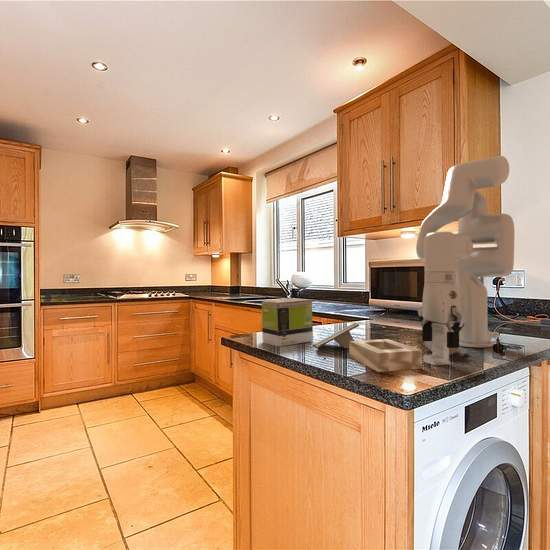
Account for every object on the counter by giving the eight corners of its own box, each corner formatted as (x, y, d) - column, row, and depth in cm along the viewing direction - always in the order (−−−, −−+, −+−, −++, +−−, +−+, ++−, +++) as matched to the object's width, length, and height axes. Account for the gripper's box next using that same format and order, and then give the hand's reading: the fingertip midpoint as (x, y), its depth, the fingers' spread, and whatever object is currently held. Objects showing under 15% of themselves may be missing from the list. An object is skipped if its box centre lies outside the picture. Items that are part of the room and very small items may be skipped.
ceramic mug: (434, 357, 102) (434, 329, 102) (422, 350, 110) (423, 325, 110) (472, 357, 101) (472, 330, 101) (458, 351, 110) (458, 326, 110)
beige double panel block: (336, 369, 105) (374, 334, 105) (315, 346, 106) (353, 312, 107) (331, 364, 121) (364, 334, 122) (313, 344, 122) (346, 314, 123)
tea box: (295, 337, 134) (295, 297, 133) (313, 342, 125) (313, 299, 125) (261, 342, 125) (261, 299, 125) (277, 347, 117) (277, 301, 117)
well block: (387, 354, 105) (387, 339, 105) (422, 368, 90) (422, 350, 90) (349, 357, 102) (349, 341, 102) (378, 371, 87) (378, 353, 87)
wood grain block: (437, 360, 98) (437, 323, 98) (448, 364, 94) (448, 325, 94) (423, 361, 97) (423, 324, 97) (434, 365, 93) (433, 326, 92)
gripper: (477, 279, 88) (477, 350, 88) (430, 279, 105) (430, 338, 104) (450, 279, 86) (450, 351, 86) (407, 279, 103) (407, 339, 103)
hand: (439, 344), depth 95 cm, fingers open, 9 cm apart
